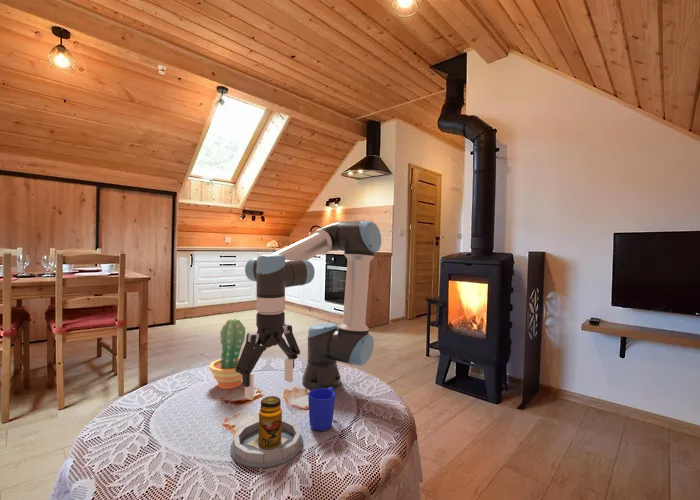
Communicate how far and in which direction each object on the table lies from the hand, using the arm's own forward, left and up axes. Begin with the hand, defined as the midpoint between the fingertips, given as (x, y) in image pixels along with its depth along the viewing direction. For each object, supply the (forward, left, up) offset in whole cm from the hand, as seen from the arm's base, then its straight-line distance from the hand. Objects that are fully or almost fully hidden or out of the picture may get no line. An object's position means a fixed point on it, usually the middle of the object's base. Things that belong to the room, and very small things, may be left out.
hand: (270, 389), depth 94 cm
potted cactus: (+7, -46, -16) cm, 49 cm away
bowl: (0, 0, -15) cm, 15 cm away
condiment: (0, 0, -15) cm, 15 cm away
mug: (-18, -6, -16) cm, 24 cm away
